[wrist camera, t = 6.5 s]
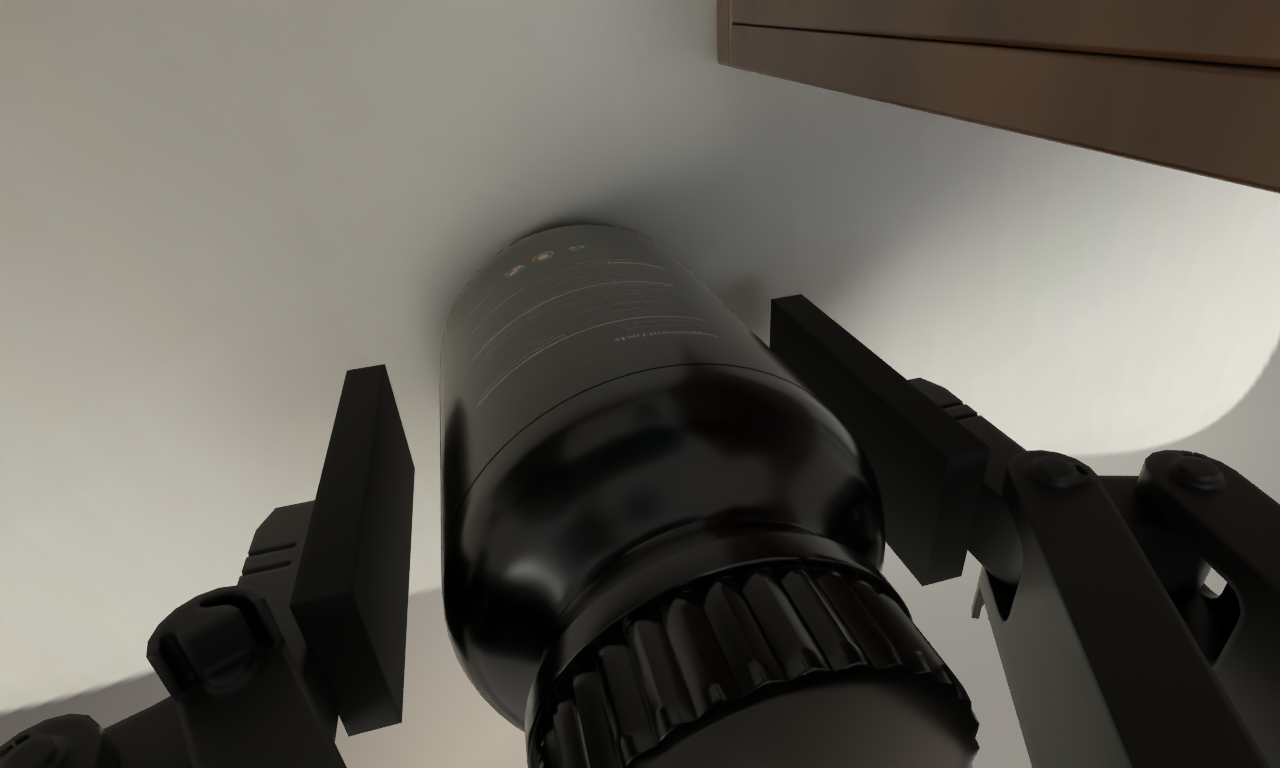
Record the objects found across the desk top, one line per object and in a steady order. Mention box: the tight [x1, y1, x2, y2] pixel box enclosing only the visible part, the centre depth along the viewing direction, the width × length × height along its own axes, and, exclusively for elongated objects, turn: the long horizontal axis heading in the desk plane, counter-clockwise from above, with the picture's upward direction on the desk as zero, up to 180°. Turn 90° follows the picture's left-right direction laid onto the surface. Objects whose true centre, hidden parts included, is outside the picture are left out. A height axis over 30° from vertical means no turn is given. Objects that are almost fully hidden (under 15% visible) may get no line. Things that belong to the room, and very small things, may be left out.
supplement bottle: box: [440, 224, 979, 768], centre depth 12 cm, size 7×7×12 cm
